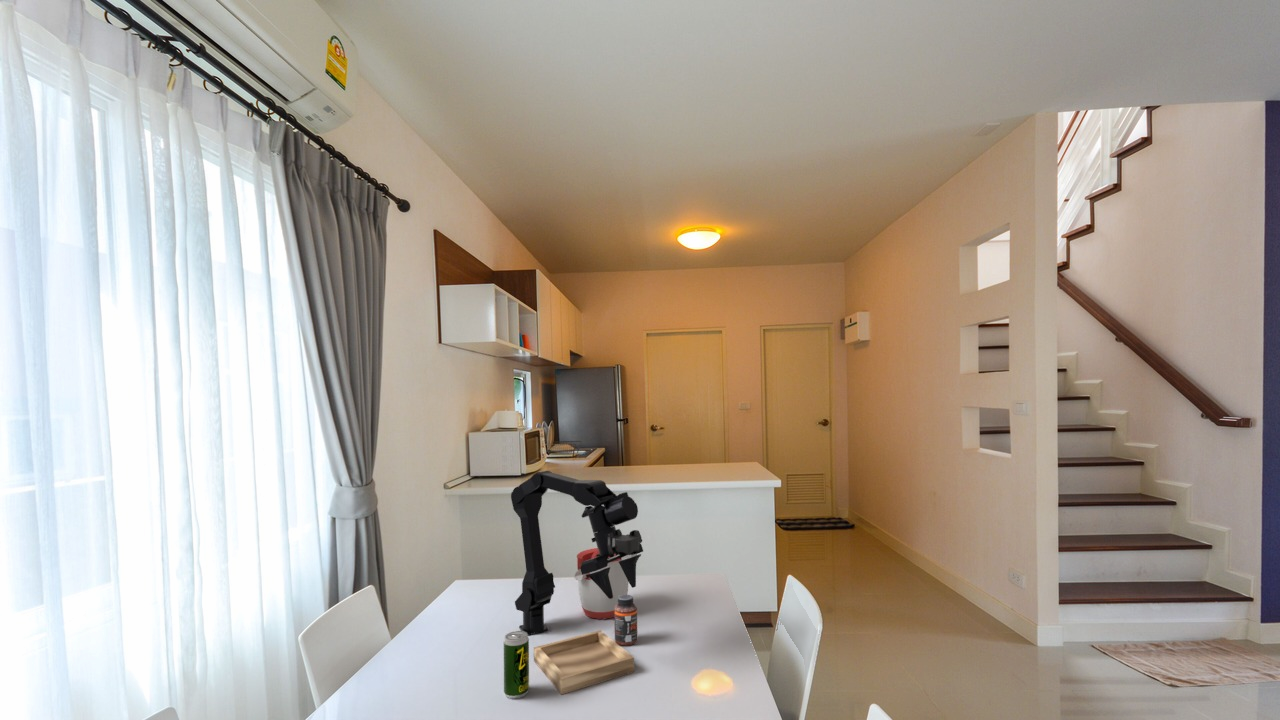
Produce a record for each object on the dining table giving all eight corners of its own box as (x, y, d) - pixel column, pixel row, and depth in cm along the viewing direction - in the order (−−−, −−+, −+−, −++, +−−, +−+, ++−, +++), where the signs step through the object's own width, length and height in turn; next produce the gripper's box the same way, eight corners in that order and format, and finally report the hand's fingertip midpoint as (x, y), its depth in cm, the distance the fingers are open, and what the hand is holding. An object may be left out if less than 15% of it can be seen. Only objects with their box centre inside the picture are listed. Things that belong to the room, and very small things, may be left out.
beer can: (498, 697, 115) (498, 639, 116) (512, 684, 121) (511, 629, 122) (521, 701, 114) (520, 642, 115) (533, 688, 119) (533, 631, 120)
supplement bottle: (635, 647, 137) (633, 601, 138) (612, 646, 139) (611, 600, 140) (639, 637, 143) (638, 593, 144) (618, 636, 144) (617, 592, 145)
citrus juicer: (562, 614, 161) (561, 545, 162) (608, 598, 172) (606, 534, 174) (594, 629, 149) (592, 555, 151) (640, 612, 161) (639, 543, 162)
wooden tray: (533, 661, 132) (533, 647, 132) (600, 642, 141) (600, 630, 141) (561, 694, 116) (561, 679, 116) (634, 671, 125) (634, 657, 125)
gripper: (603, 529, 126) (624, 598, 121) (649, 514, 141) (668, 575, 136) (570, 540, 131) (589, 607, 127) (617, 525, 146) (635, 584, 142)
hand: (622, 592), depth 133 cm, fingers open, 9 cm apart
